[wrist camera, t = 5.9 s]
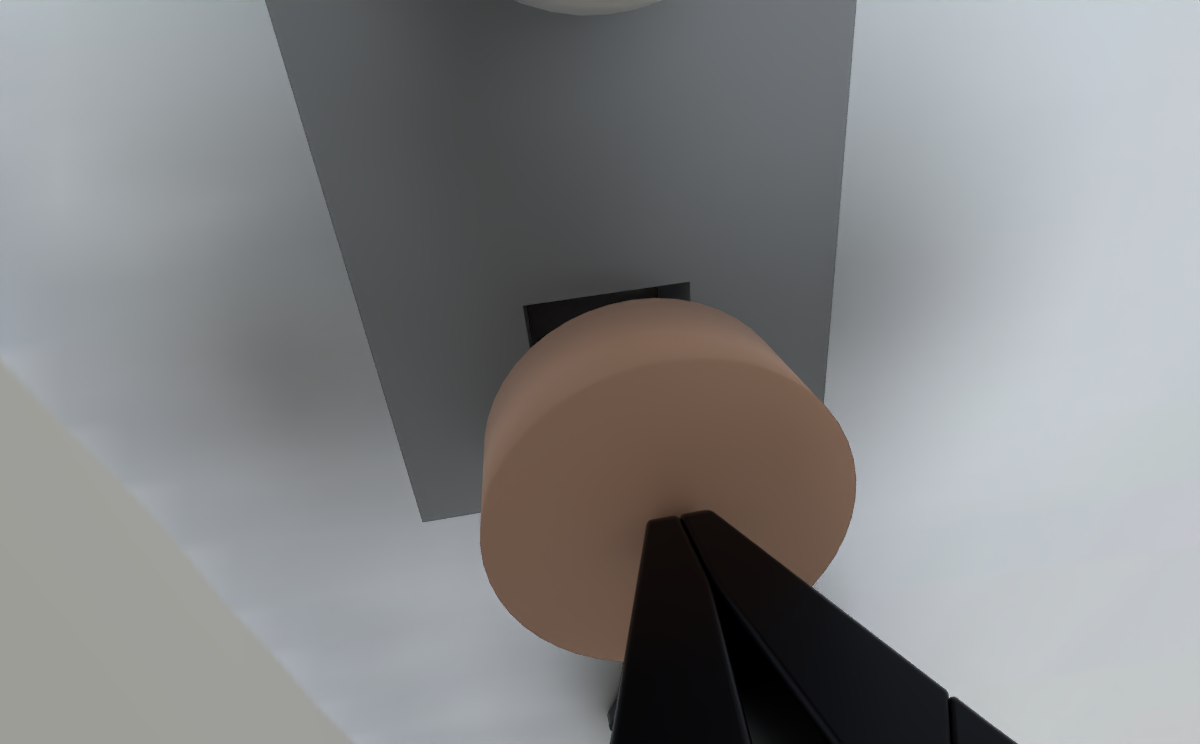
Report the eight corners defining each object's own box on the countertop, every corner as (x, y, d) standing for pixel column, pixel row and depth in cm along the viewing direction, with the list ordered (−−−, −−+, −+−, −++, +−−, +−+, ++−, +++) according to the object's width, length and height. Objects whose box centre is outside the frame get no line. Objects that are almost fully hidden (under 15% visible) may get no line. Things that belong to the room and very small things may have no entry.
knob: (730, 443, 14) (840, 627, 9) (510, 480, 14) (515, 690, 9) (730, 224, 12) (875, 328, 7) (465, 260, 11) (440, 395, 7)
